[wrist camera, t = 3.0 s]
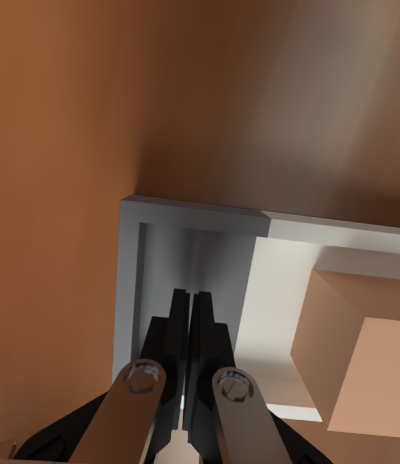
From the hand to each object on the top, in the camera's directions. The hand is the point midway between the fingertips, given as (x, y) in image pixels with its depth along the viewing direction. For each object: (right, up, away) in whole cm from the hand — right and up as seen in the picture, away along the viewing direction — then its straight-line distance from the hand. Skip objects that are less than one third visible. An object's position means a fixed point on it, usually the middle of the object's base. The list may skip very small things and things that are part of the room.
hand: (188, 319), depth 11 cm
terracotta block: (+9, -1, +2) cm, 9 cm away
